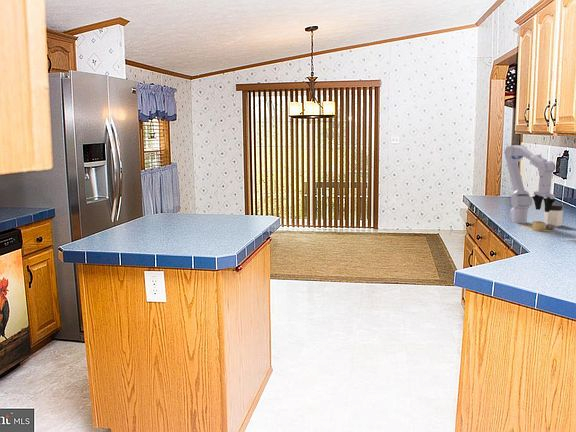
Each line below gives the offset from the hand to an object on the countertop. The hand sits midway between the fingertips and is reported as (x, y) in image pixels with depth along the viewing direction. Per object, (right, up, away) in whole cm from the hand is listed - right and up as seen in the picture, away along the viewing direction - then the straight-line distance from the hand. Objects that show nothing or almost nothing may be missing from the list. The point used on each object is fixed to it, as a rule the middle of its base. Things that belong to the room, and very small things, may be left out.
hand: (542, 210), depth 281 cm
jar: (+10, -9, +9) cm, 16 cm away
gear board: (-3, -10, -1) cm, 11 cm away
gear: (+2, -10, -4) cm, 11 cm away
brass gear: (-5, -10, -5) cm, 12 cm away
